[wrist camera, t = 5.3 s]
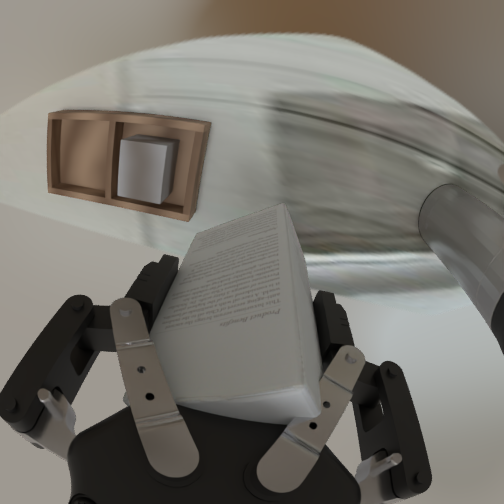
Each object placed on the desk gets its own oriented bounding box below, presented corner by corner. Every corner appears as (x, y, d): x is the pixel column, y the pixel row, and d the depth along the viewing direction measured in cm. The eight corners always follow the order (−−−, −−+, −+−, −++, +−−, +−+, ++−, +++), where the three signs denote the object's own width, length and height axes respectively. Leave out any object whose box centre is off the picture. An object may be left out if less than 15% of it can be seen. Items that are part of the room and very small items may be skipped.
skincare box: (224, 283, 19) (184, 449, 9) (195, 231, 17) (114, 400, 7) (308, 258, 18) (333, 440, 8) (287, 199, 16) (305, 385, 6)
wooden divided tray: (211, 122, 27) (200, 126, 22) (195, 211, 32) (183, 230, 28) (63, 110, 25) (37, 115, 21) (61, 185, 31) (38, 198, 26)
